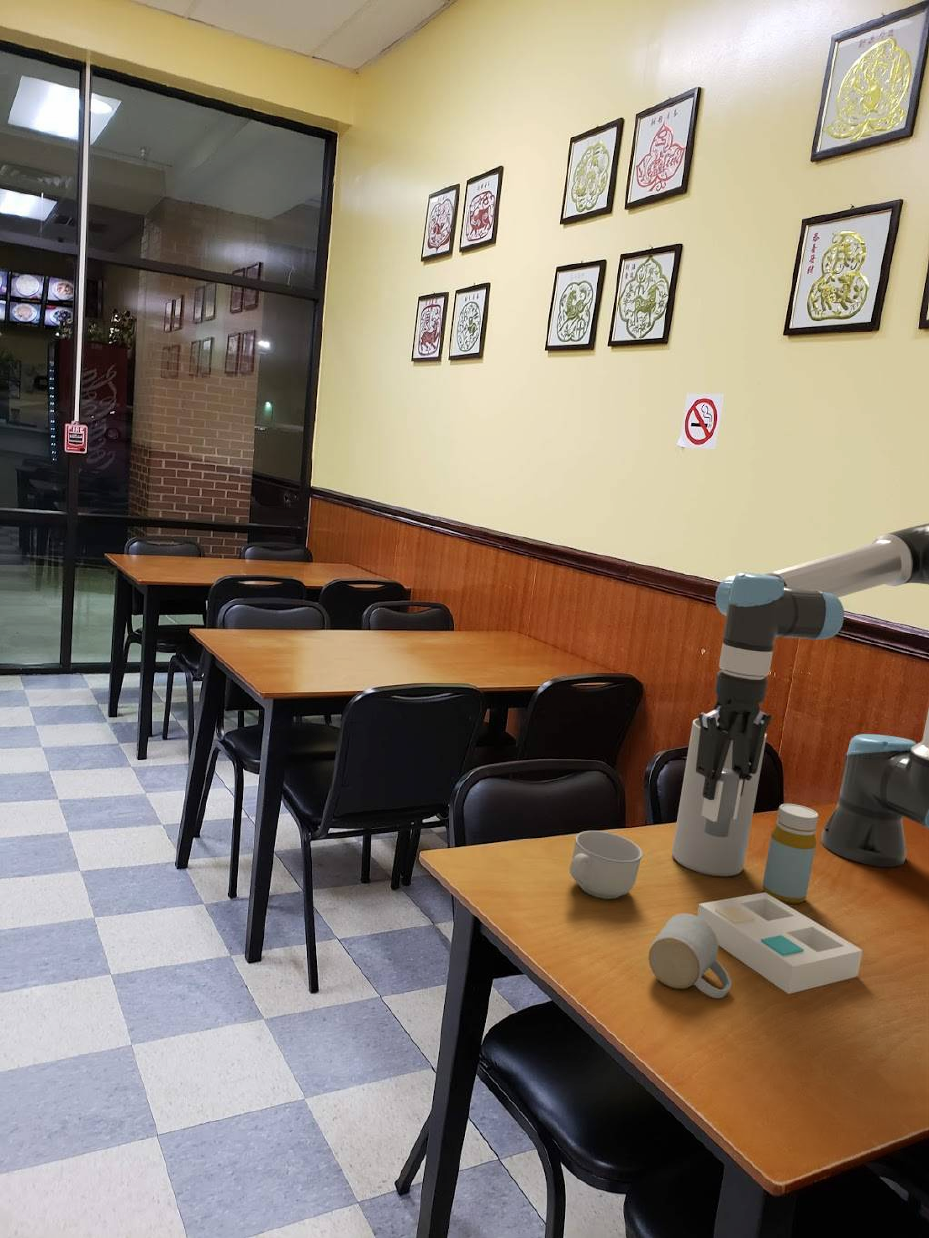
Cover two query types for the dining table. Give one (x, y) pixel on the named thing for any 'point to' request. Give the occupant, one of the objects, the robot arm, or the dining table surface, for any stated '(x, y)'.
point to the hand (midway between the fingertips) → (718, 816)
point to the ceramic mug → (687, 955)
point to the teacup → (605, 863)
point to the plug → (724, 805)
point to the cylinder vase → (690, 837)
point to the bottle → (791, 854)
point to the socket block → (780, 942)
